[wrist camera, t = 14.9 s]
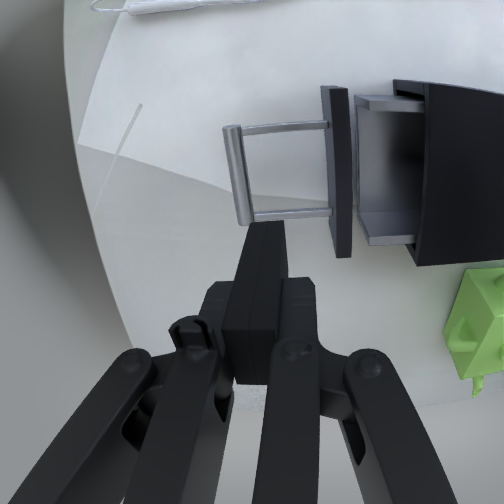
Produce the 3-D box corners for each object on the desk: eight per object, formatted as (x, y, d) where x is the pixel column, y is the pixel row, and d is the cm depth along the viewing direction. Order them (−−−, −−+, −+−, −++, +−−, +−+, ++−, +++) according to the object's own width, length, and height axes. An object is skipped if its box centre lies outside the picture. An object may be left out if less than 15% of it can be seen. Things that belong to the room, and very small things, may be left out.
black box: (391, 221, 29) (416, 266, 22) (392, 79, 21) (429, 83, 15) (510, 218, 26) (546, 255, 19) (523, 98, 19) (572, 114, 12)
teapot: (455, 348, 37) (475, 406, 28) (409, 309, 34) (432, 379, 25) (530, 282, 30) (565, 334, 21) (499, 225, 27) (549, 281, 18)
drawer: (247, 228, 30) (238, 263, 25) (226, 95, 23) (208, 100, 18) (464, 218, 26) (491, 248, 21) (473, 94, 20) (510, 104, 15)
